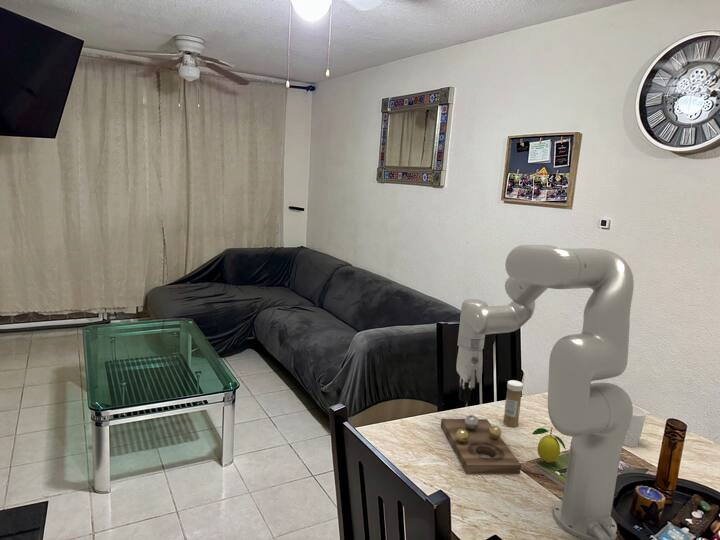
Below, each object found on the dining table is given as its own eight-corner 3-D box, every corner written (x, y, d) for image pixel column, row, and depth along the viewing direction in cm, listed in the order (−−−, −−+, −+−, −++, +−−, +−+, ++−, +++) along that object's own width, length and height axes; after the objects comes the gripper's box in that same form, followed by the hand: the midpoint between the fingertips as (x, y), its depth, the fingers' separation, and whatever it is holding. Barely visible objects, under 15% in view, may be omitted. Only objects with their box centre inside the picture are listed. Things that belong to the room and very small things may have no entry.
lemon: (528, 457, 130) (533, 422, 129) (546, 454, 132) (550, 420, 131) (546, 471, 124) (551, 435, 123) (564, 467, 126) (569, 432, 125)
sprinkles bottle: (521, 425, 148) (526, 384, 146) (511, 428, 146) (516, 386, 143) (509, 419, 152) (514, 378, 150) (499, 422, 149) (504, 381, 147)
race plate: (520, 473, 122) (521, 464, 122) (466, 474, 121) (467, 464, 120) (486, 426, 146) (486, 419, 145) (440, 426, 144) (441, 418, 144)
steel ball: (480, 432, 137) (481, 419, 136) (466, 432, 137) (467, 419, 136) (475, 425, 141) (476, 412, 140) (462, 425, 141) (463, 412, 140)
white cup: (610, 443, 141) (615, 410, 139) (610, 431, 148) (615, 401, 146) (641, 451, 137) (646, 418, 135) (640, 439, 144) (645, 407, 142)
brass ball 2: (502, 441, 133) (504, 429, 132) (490, 441, 133) (491, 429, 132) (497, 434, 136) (499, 423, 136) (485, 434, 136) (487, 423, 135)
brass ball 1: (469, 445, 130) (471, 433, 129) (457, 445, 129) (458, 433, 129) (465, 438, 133) (466, 426, 133) (453, 438, 133) (454, 426, 132)
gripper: (492, 350, 135) (485, 412, 138) (474, 333, 149) (468, 389, 153) (466, 350, 134) (459, 411, 137) (451, 333, 149) (445, 389, 152)
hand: (464, 399), depth 145 cm, fingers closed
